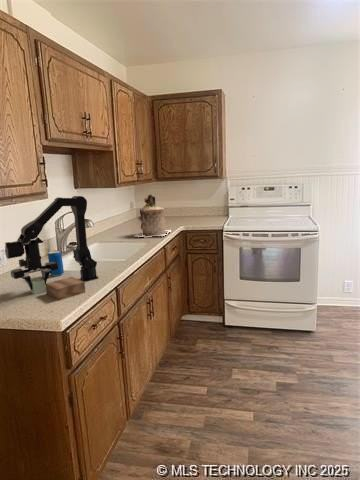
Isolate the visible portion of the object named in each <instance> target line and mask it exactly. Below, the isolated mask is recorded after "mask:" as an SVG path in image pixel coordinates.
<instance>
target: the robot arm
mask: <svg viewBox="0 0 360 480" xmlns="http://www.w3.org/2000/svg"><path fill="white" fill-rule="evenodd" d="M63 207H70V209H71V212H72V213H73V216H74V227H75V229H74V230H75V237H76V239H75V240H76V248H75V249H72V252H73V257H72V258H73V259H74V261H75V262H76V263H77V264H79V266H80V270H79V273H80V279H81V280H82V281H84V282H88V281H92V280H95V279H99V276H98V275H97V264H98V262H97V261H96V260H94V258H92V255H91V250H90V249H89V247H88V241H87V240H88V239H87V230H86V228H87V227H86V218H85V217H86V212H87V207H88V200H87V199H86V197H84V196H82V195H73V196H72V197H55V198H54V200H53V201H52V202H51V203H50V204H49V205H48V206H47V207H46V208H45V209H44V210H43V211H42V212H41V213H40V214H39V215H37V217H36V218H35V219H32V220H31V221H29V222H28V223H26V224H24V225H23V226H22V228H21V229H20V234H19V236H18V238H17V240H16V241H11V242H10V241H8V242H4V244H5V245H4V254H5V257H6V259H7V260H10V259H15V258H21V257H23V255H25V258H21V259H18V264H19V268H17V269H12V270H11V271H10V276H11V278H13V279H14V280H18V279H22V280H24V281H25V282H26V284H27V286H28V287H29V290H30V289H31V290H32V283H31V280H32V278H31V276H30V275H29V274H32V273H36V272H40V273H41V277H42V278H41V279H43V280H44V281H45V286H46V283H48V282H47V281H48V278H49V276H50V275H51V274H50V273H52V271H53V270H57V269H59V268H58V264H57V263H55V262H49V261H48V262H45V263H44V265H42V256H41V252H40V245H39V244H43V243H44V241H43V240H42V239H40V237H38V236H39V235H40V233H41V232H42V230H43V228H44V227H45V225H46V224H47V223H48V222H49V221H50V219H52V218H53V217H54V216H55V214H56V213H58V212H59V211H60V210H61V209H62V208H63ZM23 267H24V269H21V268H23ZM50 270H52V271H50ZM31 290H30V291H31Z"/></svg>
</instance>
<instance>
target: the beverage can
mask: <svg viewBox="0 0 360 480" xmlns="http://www.w3.org/2000/svg"><path fill="white" fill-rule="evenodd" d="M47 258H48V262H55V263H57V264H58V268H59V269H57V270H53V271H52V270H50V271H52V273H50V274H49V275H51V276H52V277H59V276H62V275H63V274H65V273H64V272H65V271H64V264H63V263H64V261H63V256H62V252H61V251H60V250H53V251H51V250H50V251H49V252H48V255H47Z"/></svg>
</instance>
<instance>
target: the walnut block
mask: <svg viewBox="0 0 360 480" xmlns="http://www.w3.org/2000/svg"><path fill="white" fill-rule="evenodd" d="M85 286H86V285H85V281H84V280H82V279H81V280H80V279H78V278H76V277H73V276H69V277H66V278H61V279H58V280H55V281H50V282H46V285H45V287H46V291H45V292H46V295H48V296H50V297H52V298H53V299H55V300H57V301H62V300H64V299H67V298H71V297H74V296H79V295H81V294H82V295H83V294H85V293H86V287H85Z"/></svg>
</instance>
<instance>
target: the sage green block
mask: <svg viewBox="0 0 360 480" xmlns="http://www.w3.org/2000/svg"><path fill="white" fill-rule="evenodd" d="M31 283H32V290H31V289H30V288H29V290H30V292H31V293H32V294H34V295H36V294H41V293H44V292H47V291H46V285H45V281H44V280H43V279H42V278H41V277H40V278H36V279H35V278H33V279H31Z"/></svg>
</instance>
